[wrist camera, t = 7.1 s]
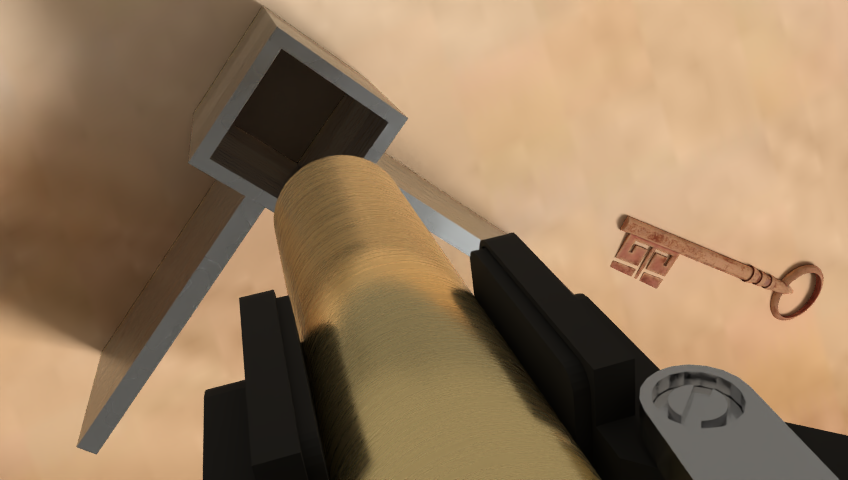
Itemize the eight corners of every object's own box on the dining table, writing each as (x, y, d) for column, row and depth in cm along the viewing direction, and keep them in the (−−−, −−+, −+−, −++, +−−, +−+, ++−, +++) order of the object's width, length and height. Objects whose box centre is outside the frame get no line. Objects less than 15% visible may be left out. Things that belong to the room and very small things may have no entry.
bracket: (362, 464, 40) (392, 570, 34) (52, 331, 33) (12, 433, 26) (555, 212, 37) (629, 273, 31) (262, 5, 30) (276, 26, 23)
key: (584, 277, 40) (771, 346, 46) (591, 285, 40) (781, 354, 45) (639, 187, 39) (828, 270, 44) (648, 194, 38) (839, 277, 43)
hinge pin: (360, 322, 18) (691, 1219, 6) (215, 245, 16) (230, 1300, 4) (457, 191, 17) (1083, 888, 5) (316, 97, 16) (731, 803, 3)
